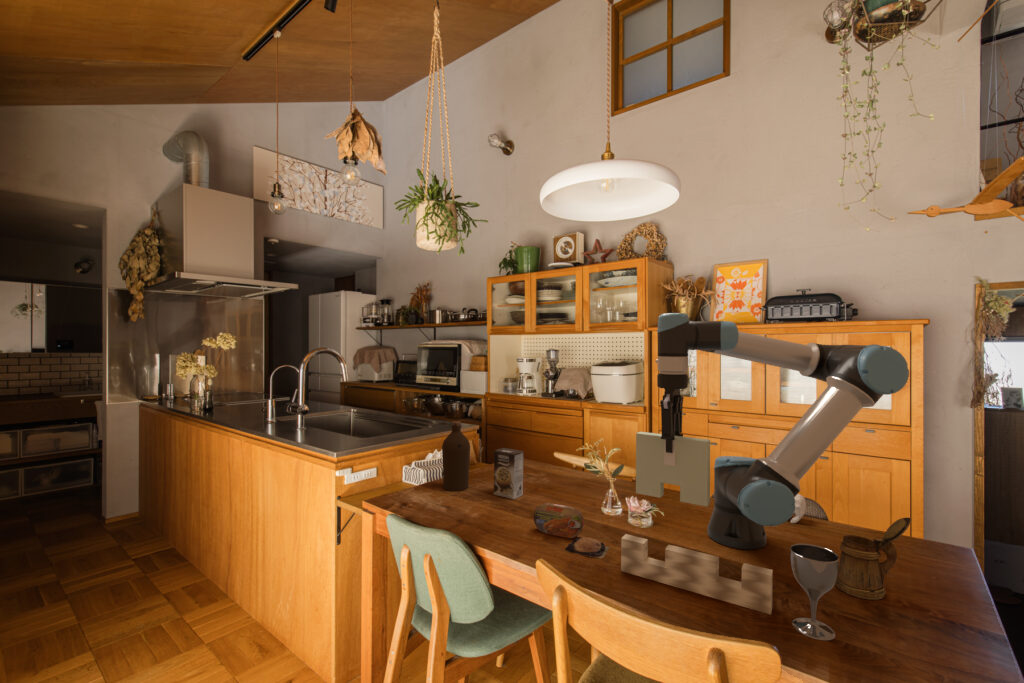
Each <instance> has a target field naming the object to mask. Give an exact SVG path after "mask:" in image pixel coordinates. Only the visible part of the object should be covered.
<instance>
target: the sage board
mask: <svg viewBox="0 0 1024 683" xmlns="http://www.w3.org/2000/svg"><path fill="white" fill-rule="evenodd" d="M661 437H662V433H657V432H646V431H638V432H636V433H635V494H639V495H644V496H649V497H655V498H662V497H663V496H664V493H665V492H664V491H665V490H664V487H665V486H664V484H667V485H673V486H678V487H679V497H680V498H679V502H680V503H686V504H690V505H695V506H700V507H706V508H707V507H708V506H709V505H710V504H711V439H708V438H699V437H698V438H697V437H689V436H684V435H683V436H675V439H674V440H676V466H671V465H665V464H664V439H661Z"/></svg>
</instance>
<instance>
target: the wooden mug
mask: <svg viewBox="0 0 1024 683" xmlns="http://www.w3.org/2000/svg"><path fill="white" fill-rule="evenodd" d="M911 522H912V519H911V517H902V518H899V519H897V520H896V521H894V522H893V523H891V525H890V526H888V528H886V531H885V533H884V535H883V537H882V538H874V539H873V540H871V539H869V538H867V537H865V536H861V535H853V534H847V535H843V538H842V541H841V543H840V547H839V549H840V550H841V553H840V558H839V568H838V576H837V580H836V583H835V585H834V586H836V587H837V588H838V589H839V590H841V591H842V592H844V593H846V594H847V595H849V596H853V597H855V598H859V599H863V600H869V601H870V600H871V601H873V600H874V601H879V600H882V599H883V598H885V596H886V588H885V586H884V582H885V578H886V576H887V574H888V572H890V571H891V569H892V568H893V566H895V564H896V562H897V559H898V552H897V548H896V547H895V545H894V544H893V542H894V541H896V540H898V539H899V538H900V537H901V536H903V534H904V533H905V532H906V531H907V530H908V528H909V527H910V525H911ZM880 551H881V552H884V554H885V555H886V559H885V560H884V561H882V562H880V558H881V557H882V553H881V552H880Z"/></svg>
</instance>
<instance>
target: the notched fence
mask: <svg viewBox="0 0 1024 683" xmlns="http://www.w3.org/2000/svg"><path fill="white" fill-rule="evenodd" d="M620 543H621V544H620V545H621V546H620V547H621V548H620V549H621V550H620V551H621V552H620V556H621V557H620V560H621V562H620V568H621V569H620V571H621V572H623V573H627V574H630V575H633V576H637V577H641V578H644V579H646V580H647V579H648V580H651V581H655V582H658V583H661V584H665V585H668V586H671V587H675V588H679V589H682V590H685V591H689V592H692V593H696V594H697V595H698V594H699V595H702V596H706V597H709V598H713V599H715V600H719V601H723V602H726V603H729V604H733V605H737V606H740V607H744V608H747V609H751V610H754V611H757V612H760V613H764V614H767V615H772V613H773V612H772V610H773V585H774V584H773V579H774V578H773V576H774V575H773V573H774V572H773V569H769V568H766V567H762V566H757V565H754V564H750V563H746V562H743V564H742V566H741V581H740V580H739V581H738V580H735V579H731V578H727V577H724V576H720V575H719V574H720V573H719V572H720V571H719V570H720V557H719V556H718V555H715V554H714V555H713V554H709V553H705V552H701V551H696V550H693V549H690V548H684V547H681V546H677V545H671V544H668V545H666V547H665V549H664V557H665V558H664V560H661V559H657V558H656V559H655V558H652V557H650V556H648V555H649V550H648V549H649V547H648V546H649V544H648V543H649V540H648V539H647V538H643V537H640V536H635V535H632V534H628V533H625V534H624V535H623V536H622V537H621V542H620Z"/></svg>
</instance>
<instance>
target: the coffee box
mask: <svg viewBox="0 0 1024 683" xmlns="http://www.w3.org/2000/svg"><path fill="white" fill-rule="evenodd" d="M523 490H524V450H518V449H513V448H507V447H502V448H498V449H495V450H494V452H493V495H494V496H499V497H503V498H506V499H511V500H515V499H518V498H520V497H522V496H523V495H524V491H523Z"/></svg>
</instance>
